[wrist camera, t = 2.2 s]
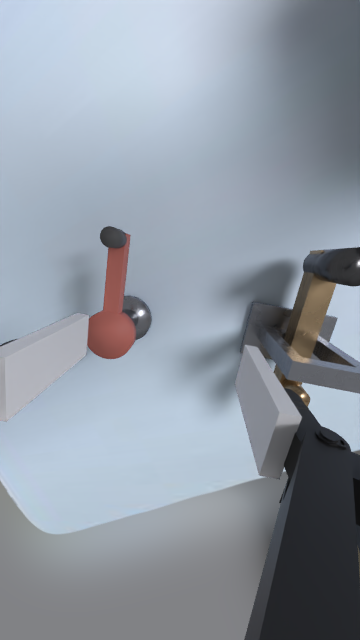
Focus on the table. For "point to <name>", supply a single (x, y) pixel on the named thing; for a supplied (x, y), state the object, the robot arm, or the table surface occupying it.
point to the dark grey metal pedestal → (137, 314)
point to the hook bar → (317, 302)
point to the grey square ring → (320, 370)
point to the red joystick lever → (113, 302)
